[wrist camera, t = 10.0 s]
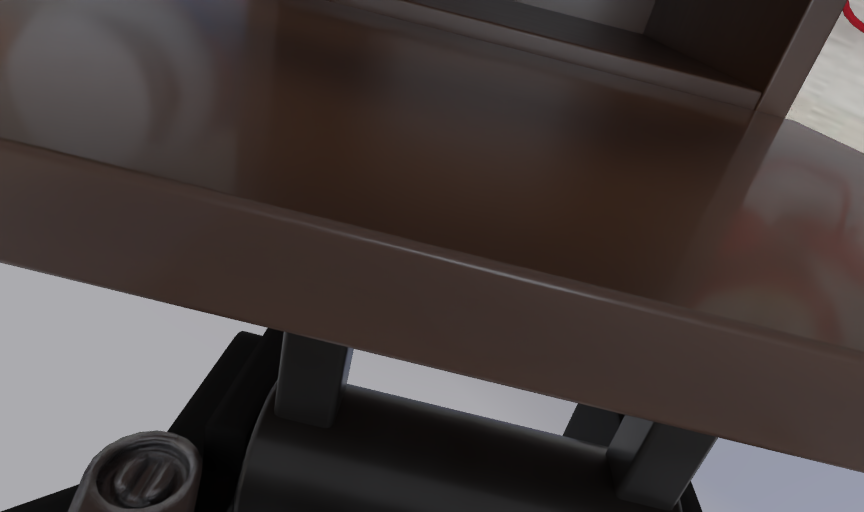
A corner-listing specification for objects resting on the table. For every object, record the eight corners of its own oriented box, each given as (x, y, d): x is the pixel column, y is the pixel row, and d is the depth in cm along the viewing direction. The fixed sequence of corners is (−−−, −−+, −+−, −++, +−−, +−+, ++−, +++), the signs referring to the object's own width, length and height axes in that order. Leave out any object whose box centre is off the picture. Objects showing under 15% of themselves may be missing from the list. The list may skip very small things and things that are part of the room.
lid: (-643, -19, 3) (-277, 597, 5) (1791, 585, 3) (1078, 908, 6) (241, -22, 13) (227, 189, 16) (795, 120, 13) (697, 306, 16)
